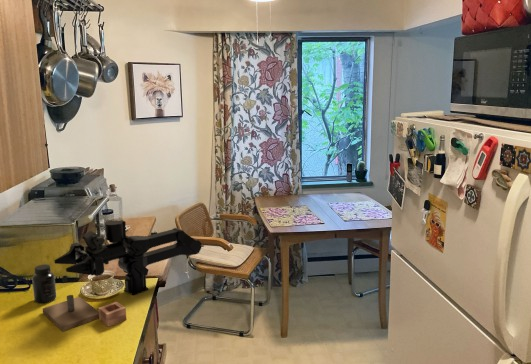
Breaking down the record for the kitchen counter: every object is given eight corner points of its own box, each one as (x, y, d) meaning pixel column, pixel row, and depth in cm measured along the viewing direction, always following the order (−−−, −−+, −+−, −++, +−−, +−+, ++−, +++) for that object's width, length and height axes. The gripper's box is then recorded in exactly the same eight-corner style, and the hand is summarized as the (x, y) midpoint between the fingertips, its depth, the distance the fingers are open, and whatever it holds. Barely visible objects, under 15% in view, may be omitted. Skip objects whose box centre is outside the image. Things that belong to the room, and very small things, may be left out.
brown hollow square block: (117, 313, 145) (116, 301, 144) (126, 319, 141) (125, 307, 140) (99, 319, 141) (98, 307, 140) (108, 326, 137) (107, 314, 136)
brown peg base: (79, 300, 153) (78, 282, 152) (101, 317, 142) (99, 298, 141) (42, 312, 145) (40, 294, 144) (62, 331, 134) (60, 311, 132)
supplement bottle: (30, 301, 152) (26, 268, 150) (47, 293, 158) (44, 261, 156) (43, 306, 149) (39, 272, 147) (61, 297, 155) (57, 265, 153)
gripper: (93, 224, 156) (46, 234, 145) (119, 236, 143) (70, 249, 132) (95, 254, 158) (50, 266, 148) (121, 269, 145) (73, 284, 135)
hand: (60, 265), depth 140 cm, fingers open, 9 cm apart
